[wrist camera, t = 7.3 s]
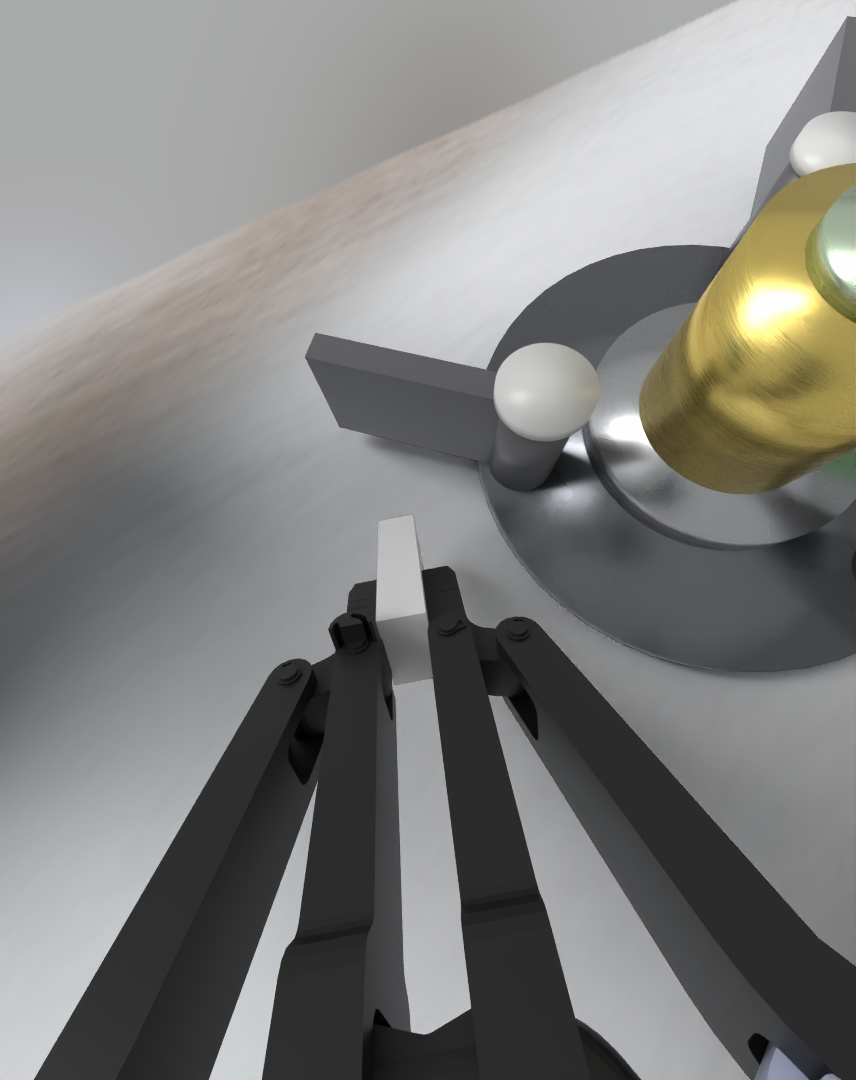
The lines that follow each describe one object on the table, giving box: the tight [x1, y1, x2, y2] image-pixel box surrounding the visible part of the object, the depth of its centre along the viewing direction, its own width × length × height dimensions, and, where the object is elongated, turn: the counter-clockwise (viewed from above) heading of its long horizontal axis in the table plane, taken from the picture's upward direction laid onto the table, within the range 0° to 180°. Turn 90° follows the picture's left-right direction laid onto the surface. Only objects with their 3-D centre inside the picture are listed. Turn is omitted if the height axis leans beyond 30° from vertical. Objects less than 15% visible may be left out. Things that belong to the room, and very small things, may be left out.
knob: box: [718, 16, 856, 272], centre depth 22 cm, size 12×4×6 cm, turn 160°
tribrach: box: [477, 163, 856, 672], centre depth 17 cm, size 24×24×12 cm
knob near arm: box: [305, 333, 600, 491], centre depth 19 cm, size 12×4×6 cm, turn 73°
